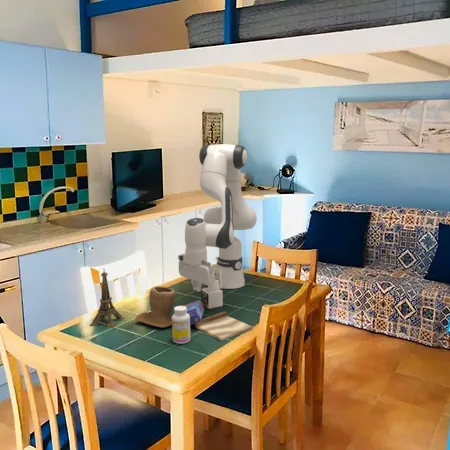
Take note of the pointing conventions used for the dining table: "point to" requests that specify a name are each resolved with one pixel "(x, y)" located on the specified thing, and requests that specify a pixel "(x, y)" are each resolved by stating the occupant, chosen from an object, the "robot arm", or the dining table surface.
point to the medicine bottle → (212, 295)
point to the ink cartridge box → (195, 311)
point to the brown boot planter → (159, 307)
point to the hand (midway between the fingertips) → (196, 290)
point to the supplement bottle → (181, 325)
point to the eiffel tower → (106, 306)
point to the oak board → (222, 326)
